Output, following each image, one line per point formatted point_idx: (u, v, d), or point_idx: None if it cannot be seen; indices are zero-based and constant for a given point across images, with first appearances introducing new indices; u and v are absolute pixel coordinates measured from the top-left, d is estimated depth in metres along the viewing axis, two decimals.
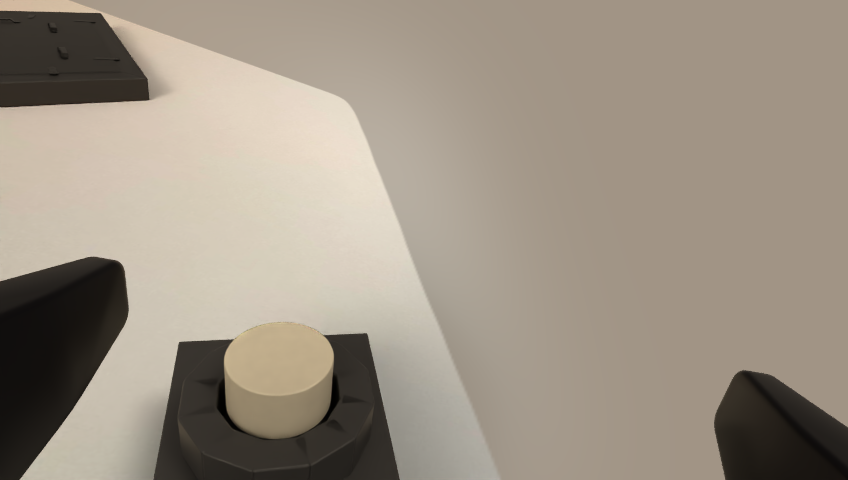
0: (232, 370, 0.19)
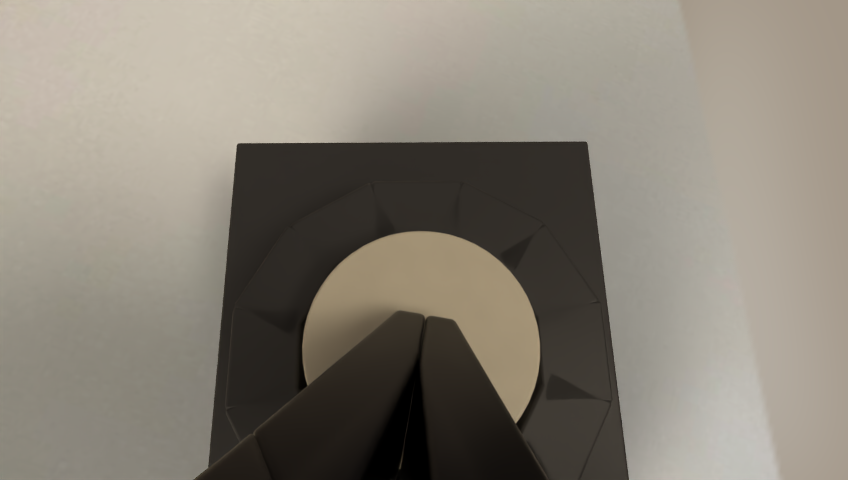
0: None
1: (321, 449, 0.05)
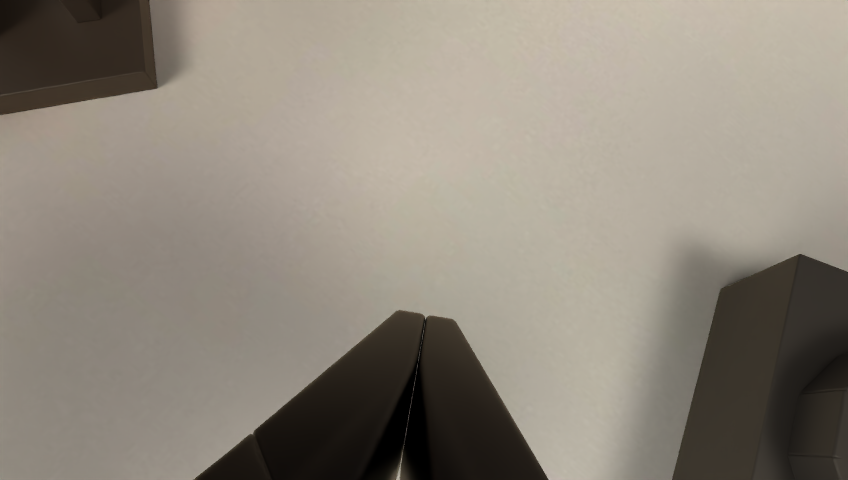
0: None
1: (321, 449, 0.05)
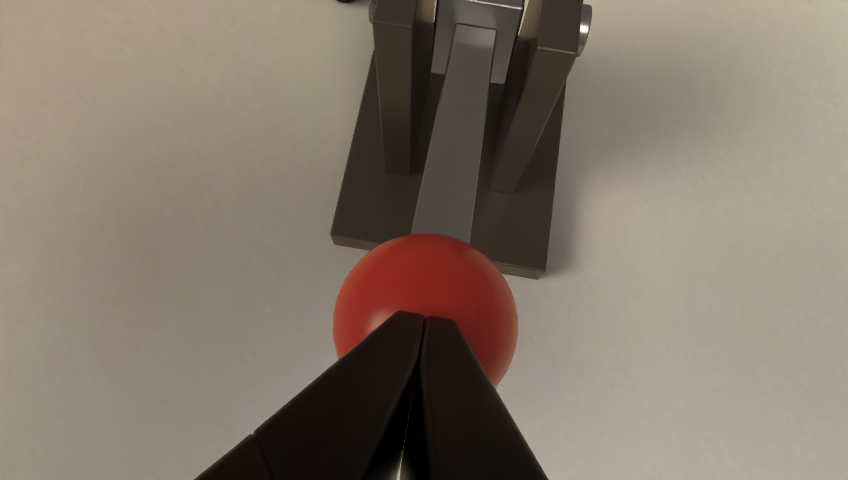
0: None
1: (321, 449, 0.05)
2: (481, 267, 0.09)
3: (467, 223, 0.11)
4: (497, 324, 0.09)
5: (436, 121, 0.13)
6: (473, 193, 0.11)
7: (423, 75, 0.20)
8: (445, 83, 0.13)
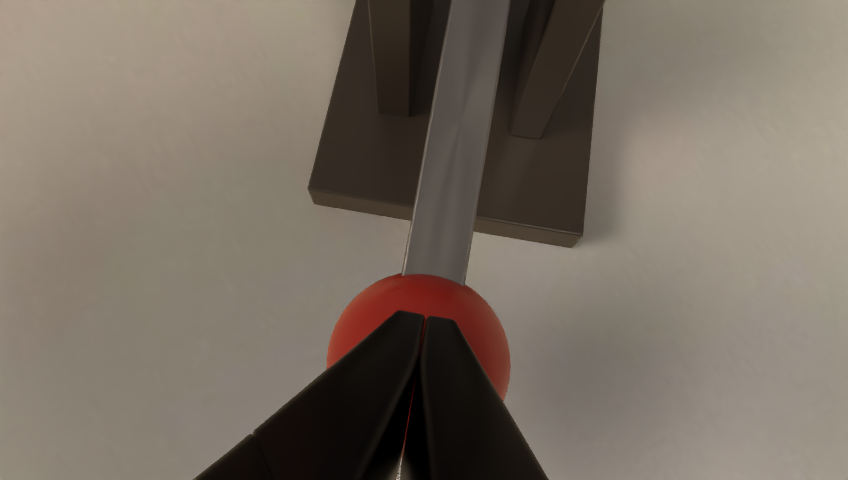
0: None
1: (321, 448, 0.05)
2: None
3: (464, 252, 0.10)
4: None
5: (435, 95, 0.10)
6: (474, 208, 0.10)
7: None
8: (449, 27, 0.11)
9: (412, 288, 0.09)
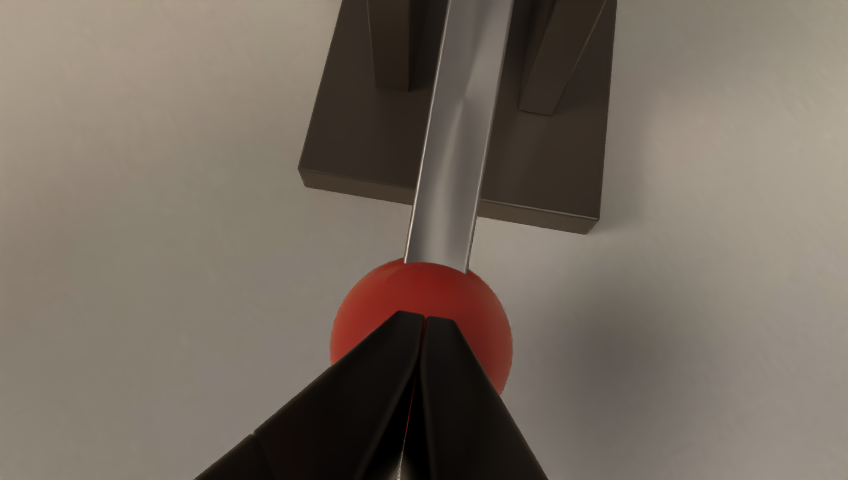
0: None
1: (321, 449, 0.05)
2: (470, 342, 0.09)
3: (467, 240, 0.10)
4: None
5: (438, 71, 0.10)
6: (477, 193, 0.10)
7: None
8: None
9: (413, 280, 0.09)
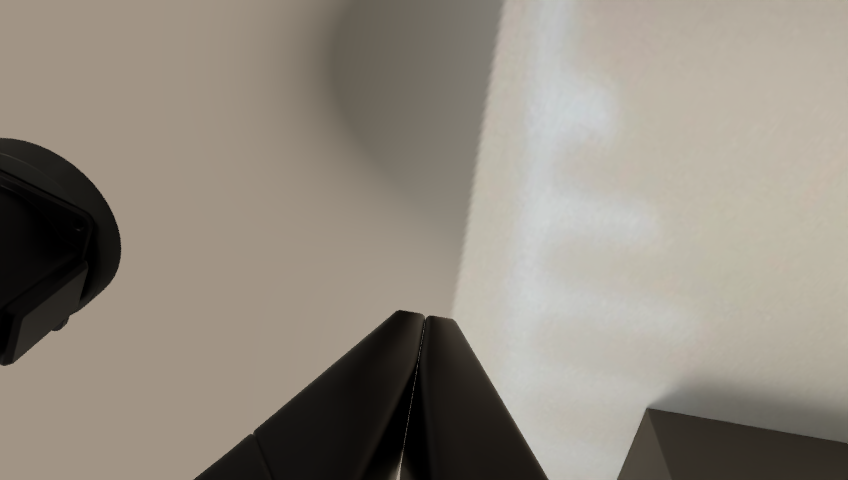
0: None
1: (321, 449, 0.05)
2: None
3: None
4: None
5: None
6: None
7: None
8: None
9: None
